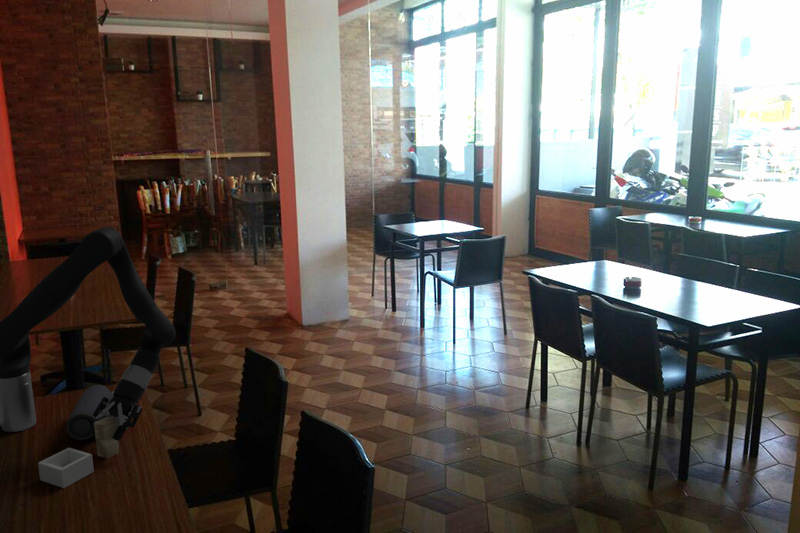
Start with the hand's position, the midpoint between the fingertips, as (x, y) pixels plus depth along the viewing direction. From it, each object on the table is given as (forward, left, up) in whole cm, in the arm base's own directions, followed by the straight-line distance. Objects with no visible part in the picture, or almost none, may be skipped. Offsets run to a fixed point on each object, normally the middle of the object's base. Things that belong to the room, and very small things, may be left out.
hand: (104, 436), depth 177 cm
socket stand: (0, -12, -6) cm, 13 cm away
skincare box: (-10, +16, -6) cm, 20 cm away
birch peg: (0, +1, -6) cm, 6 cm away
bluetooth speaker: (-19, +11, -6) cm, 22 cm away
